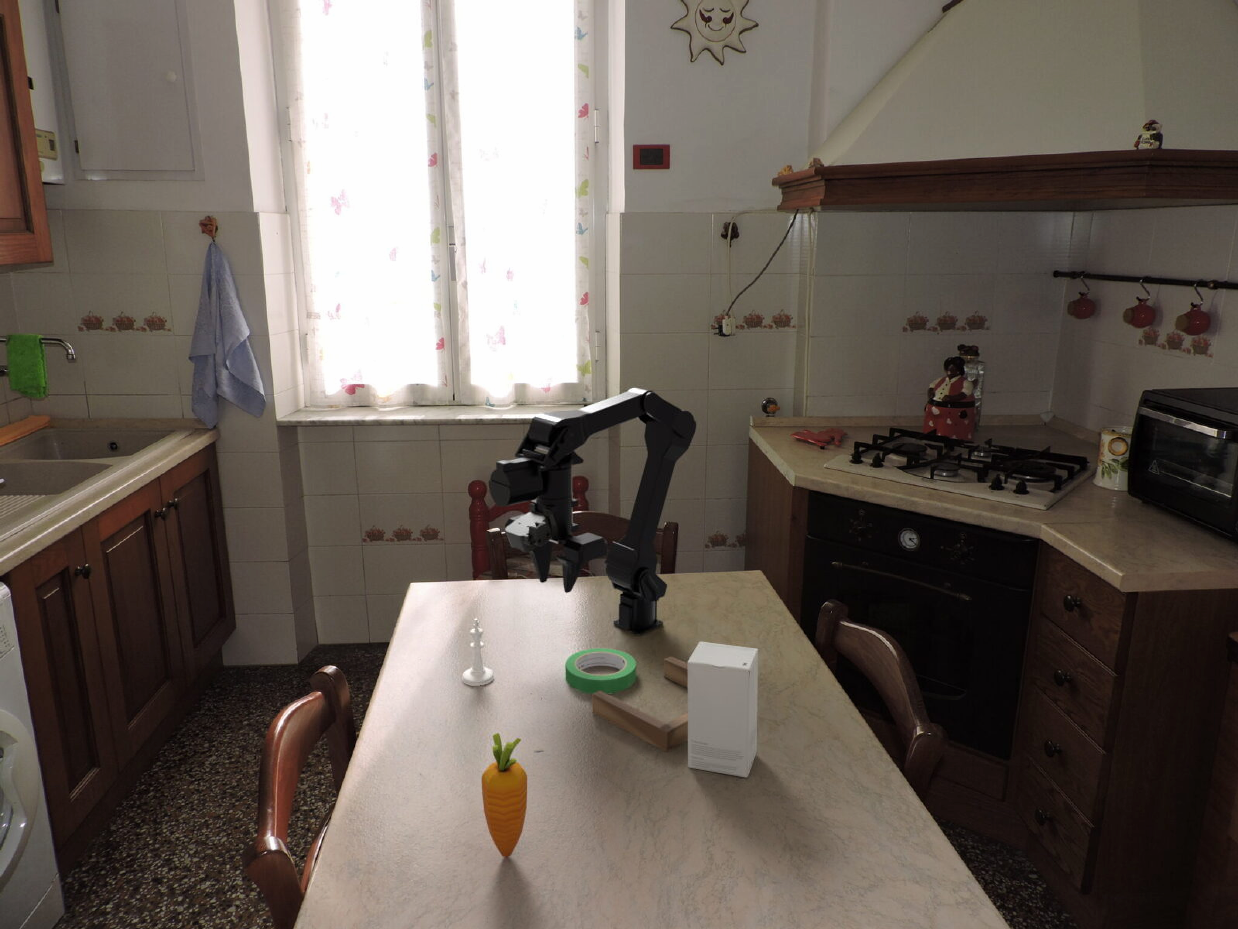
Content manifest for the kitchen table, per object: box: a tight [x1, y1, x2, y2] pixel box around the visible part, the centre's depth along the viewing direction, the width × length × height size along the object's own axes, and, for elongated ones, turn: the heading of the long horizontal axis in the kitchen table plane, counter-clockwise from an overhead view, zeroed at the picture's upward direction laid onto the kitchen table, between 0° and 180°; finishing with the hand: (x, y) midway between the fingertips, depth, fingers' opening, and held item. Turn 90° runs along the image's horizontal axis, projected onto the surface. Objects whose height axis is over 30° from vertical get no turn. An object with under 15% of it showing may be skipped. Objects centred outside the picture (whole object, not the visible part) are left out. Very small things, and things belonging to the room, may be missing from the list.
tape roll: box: [564, 647, 637, 695], centre depth 144 cm, size 11×11×3 cm
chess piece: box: [461, 618, 495, 687], centre depth 142 cm, size 5×5×10 cm
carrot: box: [481, 732, 528, 859], centre depth 101 cm, size 5×5×15 cm
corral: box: [591, 656, 688, 753], centre depth 134 cm, size 17×14×3 cm
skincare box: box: [687, 641, 759, 778], centre depth 120 cm, size 8×7×16 cm
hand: (555, 587), depth 148 cm, fingers open, 6 cm apart
